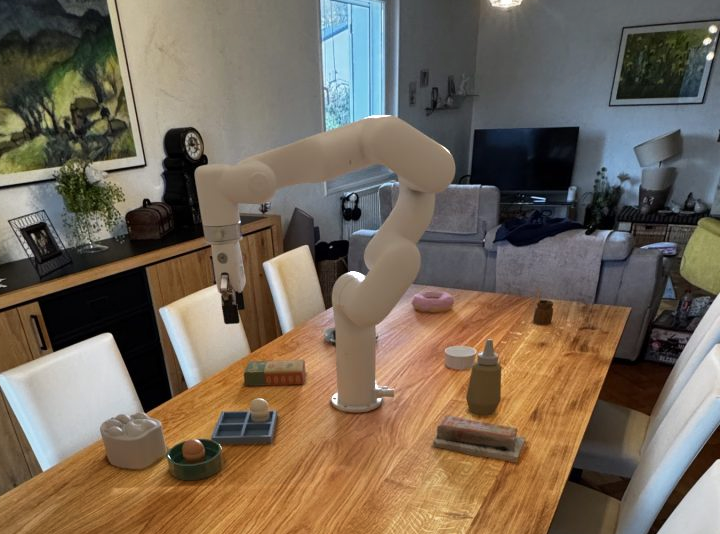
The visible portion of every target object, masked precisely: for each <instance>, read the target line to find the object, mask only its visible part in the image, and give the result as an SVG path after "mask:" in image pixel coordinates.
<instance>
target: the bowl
mask: <svg viewBox="0 0 720 534" xmlns="http://www.w3.org/2000/svg"><path fill="white" fill-rule="evenodd" d="M196 439H197V440H199V441H200V442H201V443H202V444H203V446H204V450H205V456H206V458H205V462H202V463H197V464H186V463H185V461H184V457H183V452H182V447H183V445H184V443H185V442H186V441H187V440H183V441H181V442H179V443H175V444H174V445H173V446H172V447H170V448H169V449H168V450H167V453H166V454H165V457H166V461H167V465H168V469H169V473H170V475H171V476H172V477H174V478H175V479H178V480H182V481H198V480H203V479H207V478H210V477H212V476H214V475H217V473H218V472H220V471H221V470H222V469H223V467H224V464H225V460H224V454H223V448H222V446H221V444H219V443H217V442H216V441H214V440H211V439H208V438H196Z"/></svg>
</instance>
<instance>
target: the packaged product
mask: <svg viewBox="0 0 720 534" xmlns="http://www.w3.org/2000/svg"><path fill="white" fill-rule="evenodd" d="M517 434H518V428H517V427H513V426H512V427H511V426H507V425H503V424H501V425H500V424H498V423H492V422H486V421H481V420H475V419H470V418H465V417H461V416H460V417H459V416H454V415H445V416H444V417H443V419H442V420H441V421H440V422H439V424H438V425H437V428H436V436H435V437H434V439H433V441H432V446H433V448H439V449H440V448H441V449H446V450H451V451H455V452H459V453H463V454H467V455H471V456H476V457H485V458H490V459H496V460H499V461H500V460H501V461H505V462H510V463H515V464H516V463H517V461H518V459H519V458H520V454H521V452H522V450H523V448H524V445H525V441H526V436H519V435H517Z"/></svg>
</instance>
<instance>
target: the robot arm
mask: <svg viewBox="0 0 720 534" xmlns="http://www.w3.org/2000/svg"><path fill="white" fill-rule="evenodd" d="M376 165H381V166H383V167H386V168H387V169H388V170H390V171H391V172H393V173H394V174H395V175H397V180H398V187H399V188H398V197H397V201H396V203H395V205H394V207H393V209H392V210H391V211H390V213H389V215H388V216H387V218H386V219H385V220H384V222H383V224H382V225H381V226H380V227H379V229H378V230H377V232H376V233H375V234H374V236H373V237H372V238H371V239H370V241H369V242H368V244H367V246H366V247H365V248H364V249H365V250H364V252H363V261H364V264H365V266H366V268H367V269H368V270H369V271H368V272H367V273H366V275H365V274H363V273H361V272H357V271H350V272H349V271H348V272H346V273H344V274H342V275H340V276H339V277H338V278H337V279H336V280H335V283H334V285H333V287H332V290H331V306H332V312H333V318H334V327H335V332H336V346H335V361H336V363H335V364H336V391H337V392H335V393H334V394H333V395H332V396H331V400H330V401H331V405H332V406H333V407H334V408H335V409H337V410H340V411H343V412H346V413H356V414H358V413H366V412H370V411H373V410H375V409H377V408H379V407H380V406H381V404H382V400H383V399H382V398H394V397H395V389H394V388H389V385H388V386H386V385H383V386H380V385H377V380H376V368H377V367H376V363H377V362H376V359H377V357H376V355H377V354H376V353H377V352H376V348H377V347H376V346H377V345H376V344H377V339H376V333H377V330H376V326H377V325H379V324H381V323H382V322H383V321H384V320H385V319H387V317H388V316H389V315H390V313H392V311H393V309H394V308H395V307H396V306H397V305H398V304H399V302H400V300H402V298H403V296H405V294H406V292H407V291H409V289H410V288H411V286H412V284H414V282H415V280H416V278H418V274H419V272H420V270H421V269H420V268H421V265H422V264H421V263H422V257H421V252H420V250H419V248H418V246H417V244H418V243H419V242H420V240H421V238H422V236H423V235H424V234H425V232H426V231H427V229H428V228H429V226H430V224H431V222H432V219H433V216H434V212H435V207H436V195H437V194H439V193H442V192H444V191H445V190H447V189H448V188H449V187H450V186H451V184H452V182H453V181H454V179H455V175H456V163H455V159H454V157H453V154H452V153H450V151H449V149H447V148H446V147H445V146H443V145H442V144H440V143H439V142H437V141H435V140H434V139H432V138H431V137H430V136H427V135H426V134H424V133H423V132H422V131H420V130H418V129H417V128H415V127H414V126H412V125H410V124H409V123H408V122H406V121H405V120H403V119H402V118H399V117H398V116H395V115H390V114H383V115H382V114H381V115H370V116H368V117H363V118H361V119H358V120H355V121H352V122H349V123H347V124H343V125H340V126H338V127H334V128H332V129H329V130H326V131H323V132H320V133H317V134H314V135H311V136H308V137H305V138H301V139H299V140H297V141H294V142H291V143H288V144H286V145H282V146H279V147H276V148H273V149H270V150H267V151H264V152H260V153H257V154H255V155H251V156H249V157H245V158H243V159H242V160H240V161H239V162H237V163H236V164H235V165H229V164H226V163H225V164H224V163H214V164H203V165H200V166H198V167H196V169H195V170H194V180H195V187H196V194H197V199H198V205H199V212H200V217H201V218H200V219H201V224H202V230H203V236H204V242H205V244H208V245H210V247H211V248H210V249H211V257H212V263H213V265H212V266H213V271H214V277H215V283H216V288H217V292H218V293H219V294H220V301H221V302H220V303H221V310H222V317H223V323H224V324H225V325H235V324H240V322H241V319H240V313H239V311H244V310H245V309H246V304H245V303H246V302H245V297H244V291H243V290H244V288H245V285H246V283H247V280H246V272H245V267H244V261H243V255H242V248H241V245H240V244H241V243H240V241H243V232H242V225H241V217H240V210H239V209H240V208H239V204H246V205H261V204H265V203H267V202H268V201H270V200H271V199H272V198H273V197H274V196H275V194H276V191H277V190H282V189H283V188H288V187H291V186H296V185H301V184H320V183H325V182H330V181H332V180H335V179H338V178H340V177H343V176H346V175H349V174H352V173H354V172H357V171H361V170H363V169H368V168H369V167H373V166H376Z"/></svg>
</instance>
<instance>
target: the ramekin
mask: <svg viewBox="0 0 720 534" xmlns="http://www.w3.org/2000/svg"><path fill="white" fill-rule="evenodd" d="M477 352H478V351H477V349H476V348H474V347H471V346H467V345H452V346H449V347H446V348H445V349H444V355H445V366H446V367H447V368H449V369H451V370H456V371H464V370H470V369H472V366H473V364H474V363H475V362H476V355H478V353H477Z"/></svg>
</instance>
